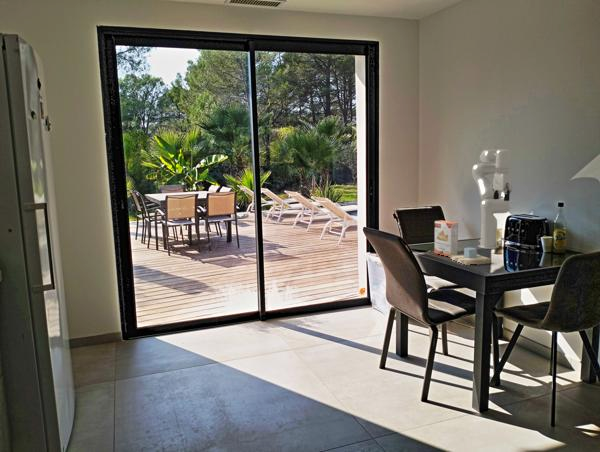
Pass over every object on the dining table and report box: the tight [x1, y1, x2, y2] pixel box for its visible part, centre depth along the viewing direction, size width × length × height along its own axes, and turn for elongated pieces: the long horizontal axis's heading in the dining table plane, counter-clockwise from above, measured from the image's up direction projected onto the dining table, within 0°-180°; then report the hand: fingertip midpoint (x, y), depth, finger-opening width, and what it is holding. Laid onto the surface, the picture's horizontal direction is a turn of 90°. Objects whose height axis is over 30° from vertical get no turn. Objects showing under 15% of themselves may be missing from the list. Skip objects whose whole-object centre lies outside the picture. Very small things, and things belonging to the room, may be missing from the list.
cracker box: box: [433, 219, 459, 258], centre depth 292 cm, size 14×6×21 cm, turn 27°
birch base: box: [449, 253, 492, 266], centre depth 277 cm, size 16×16×2 cm
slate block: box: [463, 247, 478, 258], centre depth 277 cm, size 5×5×5 cm
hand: (501, 200), depth 286 cm, fingers open, 9 cm apart
